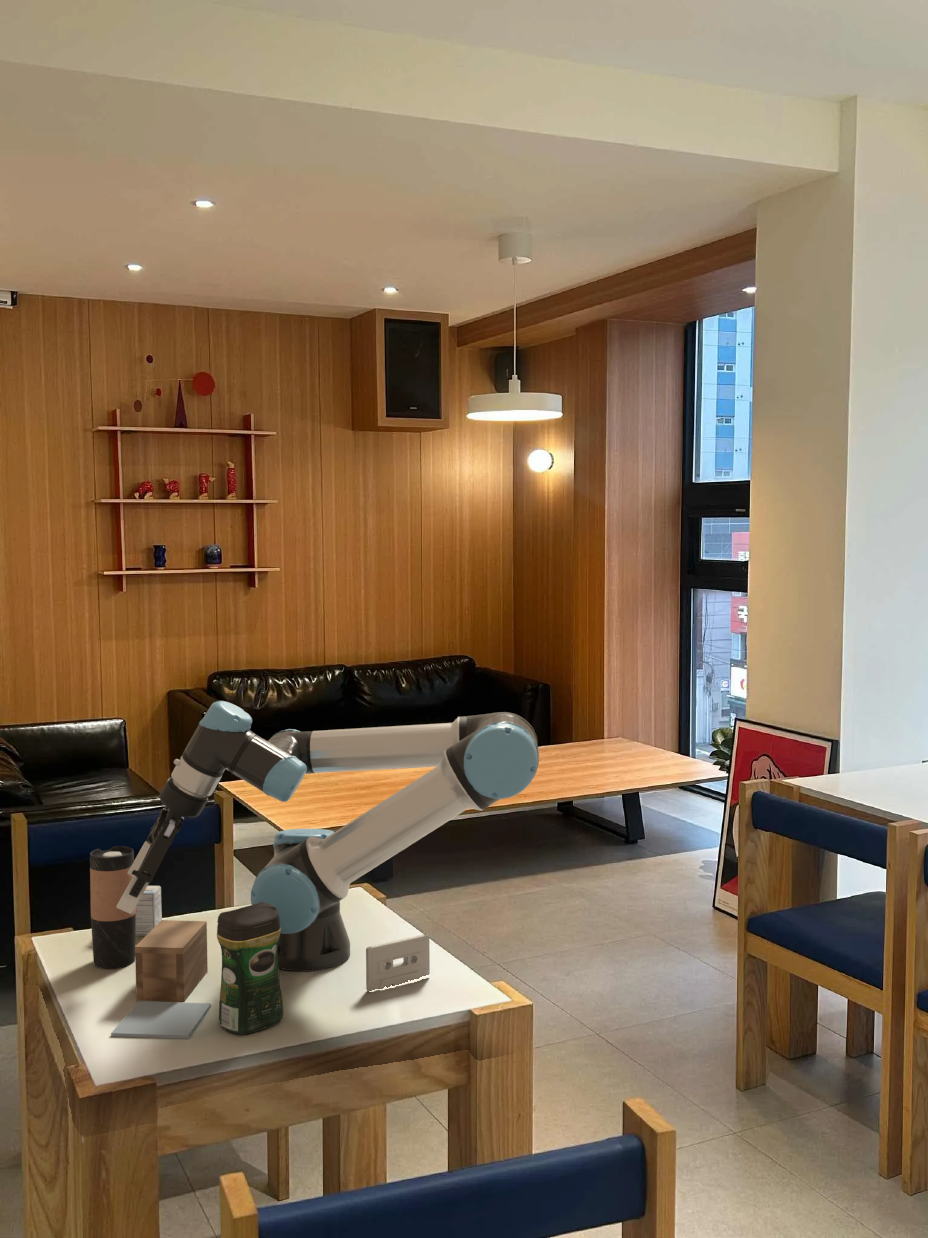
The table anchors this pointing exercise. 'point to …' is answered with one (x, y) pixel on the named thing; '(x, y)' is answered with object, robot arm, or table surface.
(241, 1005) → the coffee jar
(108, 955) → the travel mug
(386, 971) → the cassette
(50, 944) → the table surface
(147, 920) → the medicine box
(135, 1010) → the slate mat
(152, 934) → the tan rectangular box
